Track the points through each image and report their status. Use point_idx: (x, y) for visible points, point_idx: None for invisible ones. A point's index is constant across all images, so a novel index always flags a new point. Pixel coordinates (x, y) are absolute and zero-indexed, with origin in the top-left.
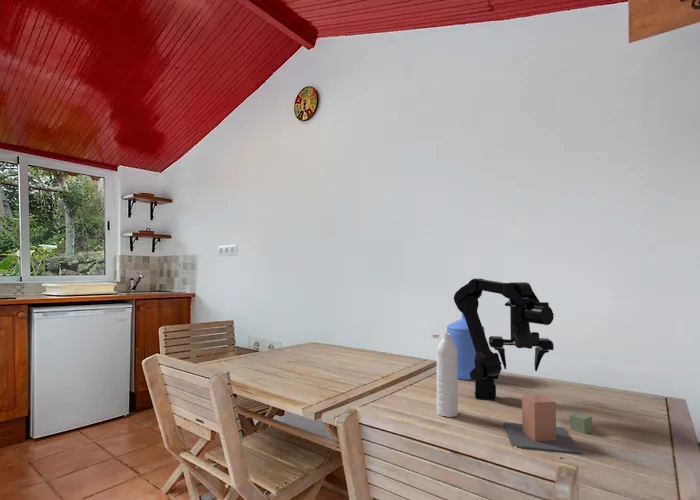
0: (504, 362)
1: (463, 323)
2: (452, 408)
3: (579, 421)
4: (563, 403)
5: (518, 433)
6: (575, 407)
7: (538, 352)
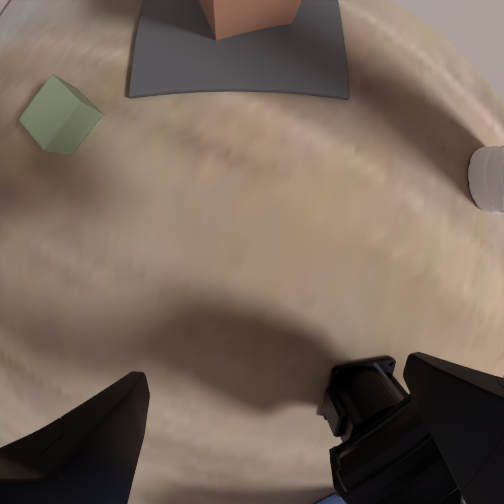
0: (459, 372)
1: None
2: (494, 149)
3: (68, 86)
4: (90, 385)
5: (306, 13)
6: (58, 353)
7: (10, 496)
